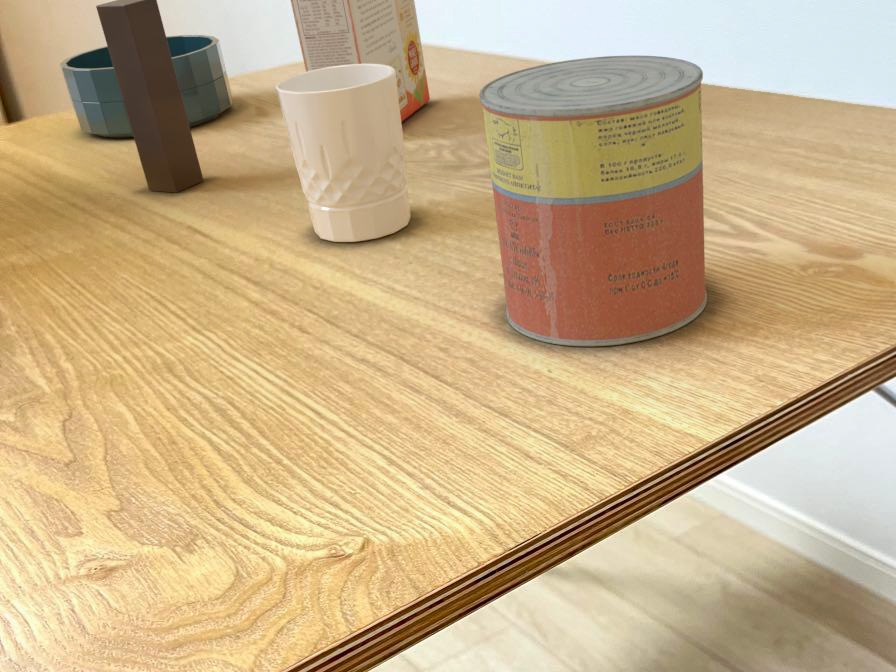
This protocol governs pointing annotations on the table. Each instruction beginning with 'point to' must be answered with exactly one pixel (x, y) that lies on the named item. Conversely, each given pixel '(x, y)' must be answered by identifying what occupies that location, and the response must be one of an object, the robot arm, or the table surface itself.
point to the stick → (150, 93)
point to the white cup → (348, 149)
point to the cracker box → (365, 41)
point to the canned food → (599, 197)
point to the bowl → (102, 96)
